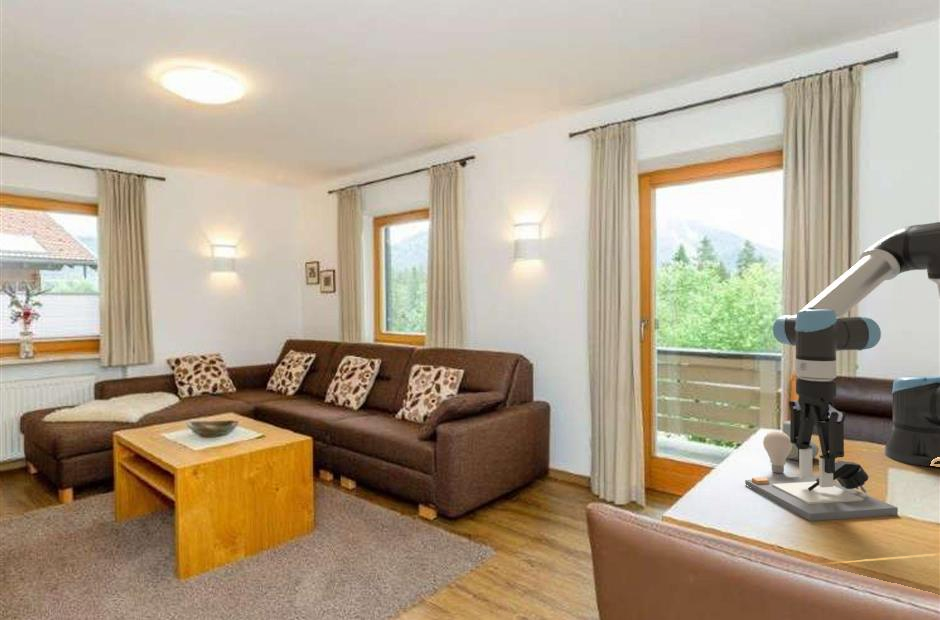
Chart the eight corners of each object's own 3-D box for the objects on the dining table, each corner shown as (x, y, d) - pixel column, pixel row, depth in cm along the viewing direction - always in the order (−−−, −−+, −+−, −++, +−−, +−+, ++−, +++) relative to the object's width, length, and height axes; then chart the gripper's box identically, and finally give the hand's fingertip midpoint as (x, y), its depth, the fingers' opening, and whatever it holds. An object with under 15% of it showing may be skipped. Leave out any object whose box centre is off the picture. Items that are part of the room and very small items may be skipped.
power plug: (799, 482, 119) (843, 452, 118) (820, 509, 118) (864, 479, 118) (814, 490, 113) (860, 458, 112) (836, 519, 113) (882, 487, 112)
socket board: (820, 481, 127) (820, 472, 127) (897, 514, 107) (897, 503, 107) (745, 486, 124) (745, 476, 124) (809, 521, 105) (809, 509, 105)
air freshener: (824, 461, 142) (824, 425, 142) (804, 465, 139) (804, 428, 139) (786, 451, 152) (786, 417, 152) (767, 454, 149) (767, 420, 149)
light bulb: (795, 472, 133) (795, 430, 133) (789, 479, 128) (789, 435, 128) (766, 467, 138) (766, 426, 138) (760, 473, 133) (759, 431, 133)
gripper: (771, 373, 124) (771, 469, 124) (833, 385, 106) (833, 498, 106) (800, 372, 125) (800, 468, 125) (866, 384, 107) (866, 496, 107)
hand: (815, 481), depth 116 cm, fingers open, 5 cm apart
